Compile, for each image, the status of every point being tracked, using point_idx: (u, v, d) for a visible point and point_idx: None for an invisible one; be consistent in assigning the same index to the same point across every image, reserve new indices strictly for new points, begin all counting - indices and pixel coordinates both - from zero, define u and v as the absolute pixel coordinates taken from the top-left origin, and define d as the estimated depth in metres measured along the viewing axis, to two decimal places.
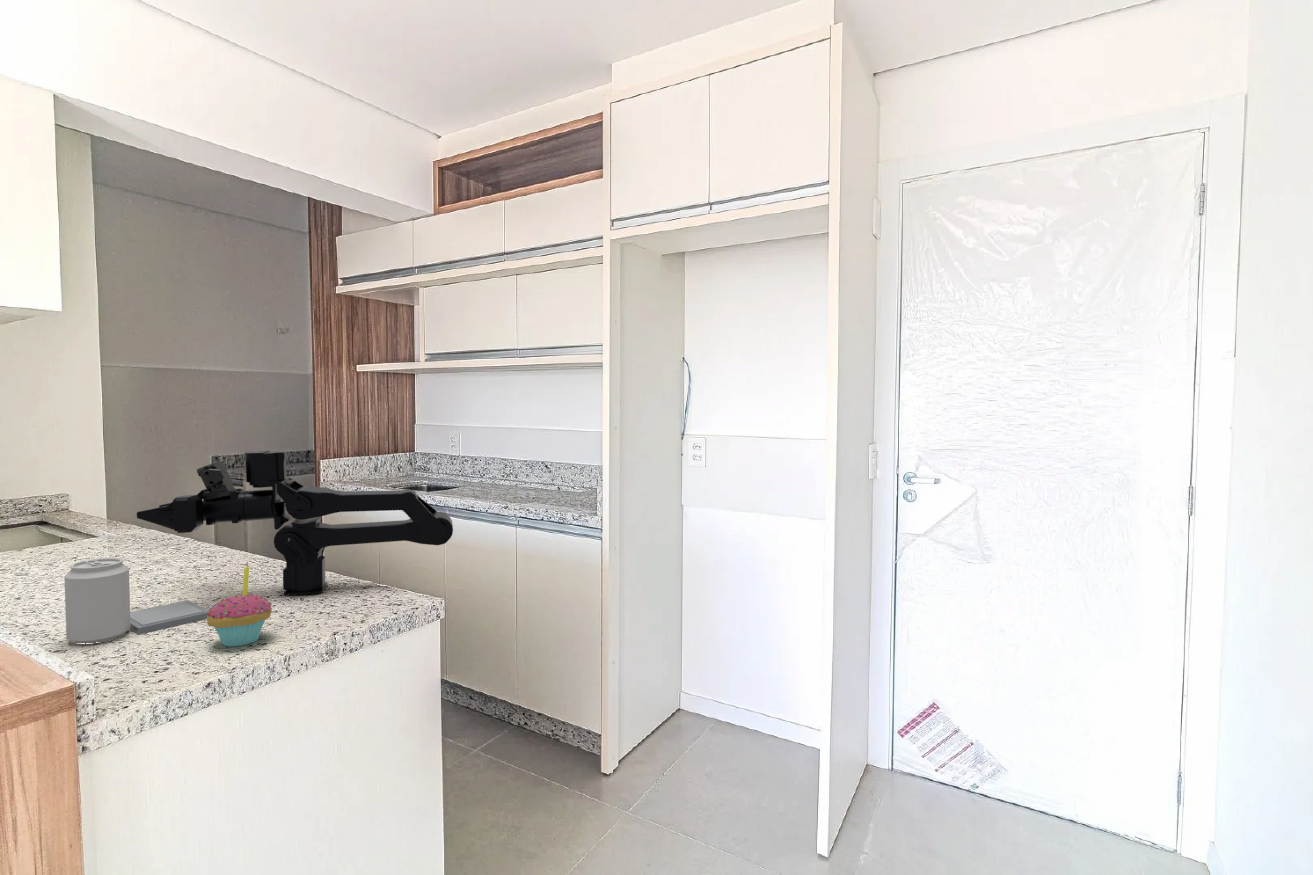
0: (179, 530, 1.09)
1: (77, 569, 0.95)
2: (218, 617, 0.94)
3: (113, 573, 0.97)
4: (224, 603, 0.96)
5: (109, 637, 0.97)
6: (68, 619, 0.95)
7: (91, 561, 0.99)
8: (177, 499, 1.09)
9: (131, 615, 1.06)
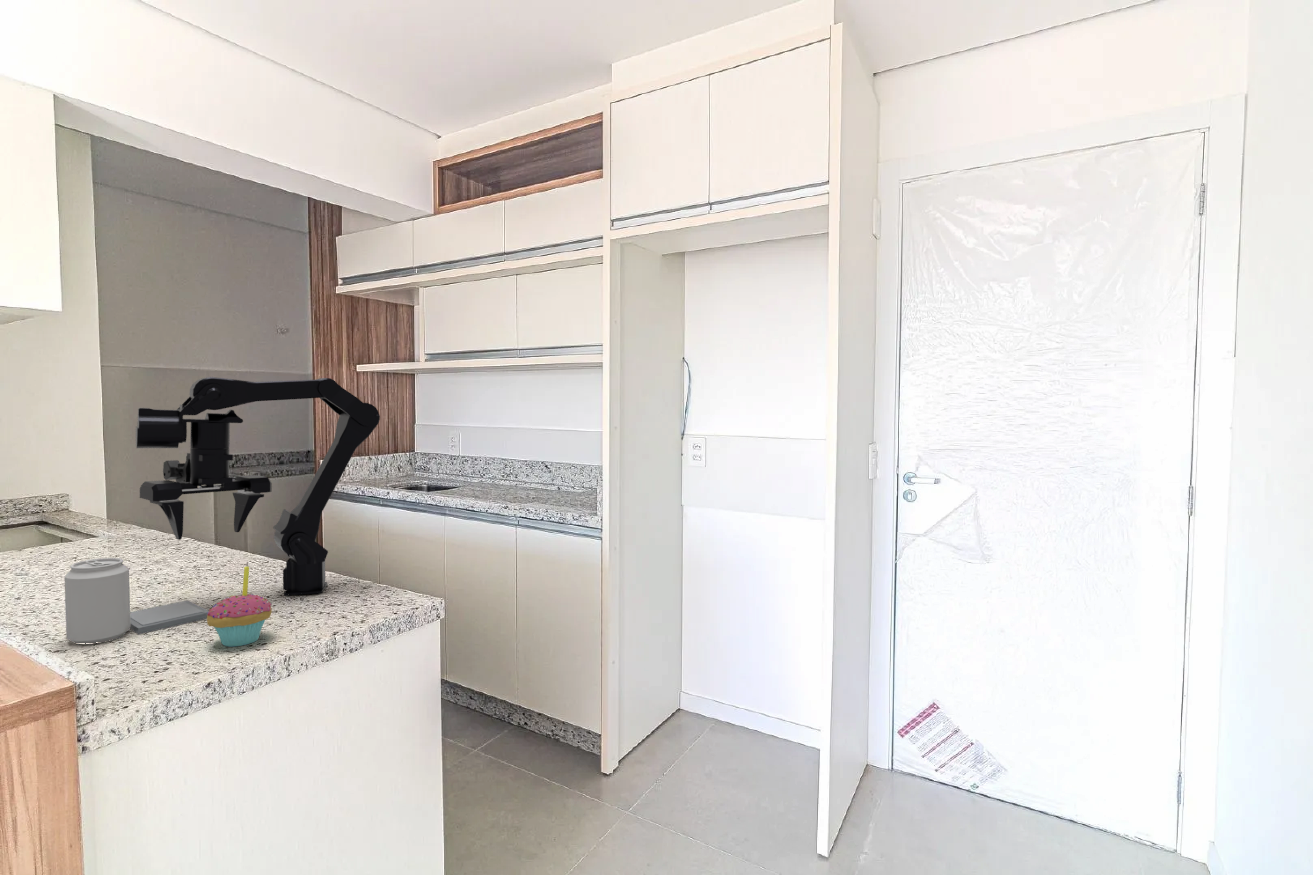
0: (153, 498, 1.04)
1: (77, 569, 0.95)
2: (218, 617, 0.94)
3: (113, 573, 0.97)
4: (224, 603, 0.96)
5: (109, 637, 0.97)
6: (68, 619, 0.95)
7: (91, 561, 0.99)
8: None
9: (131, 615, 1.06)
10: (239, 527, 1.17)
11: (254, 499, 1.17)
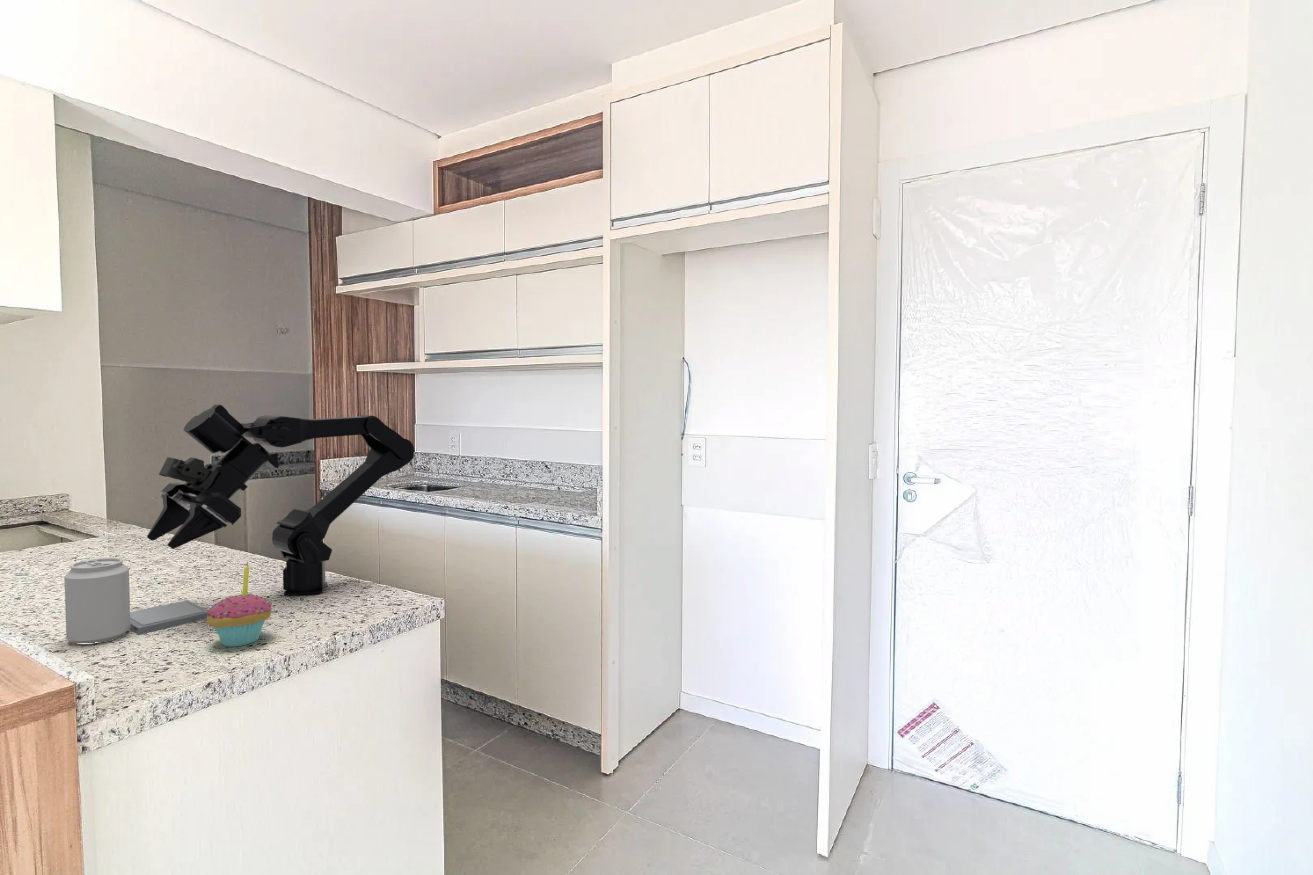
0: (233, 521, 1.05)
1: (77, 569, 0.95)
2: (218, 617, 0.94)
3: (113, 573, 0.97)
4: (224, 603, 0.96)
5: (109, 637, 0.97)
6: (68, 619, 0.95)
7: (91, 561, 0.99)
8: (205, 502, 1.02)
9: (131, 615, 1.06)
10: None
11: None
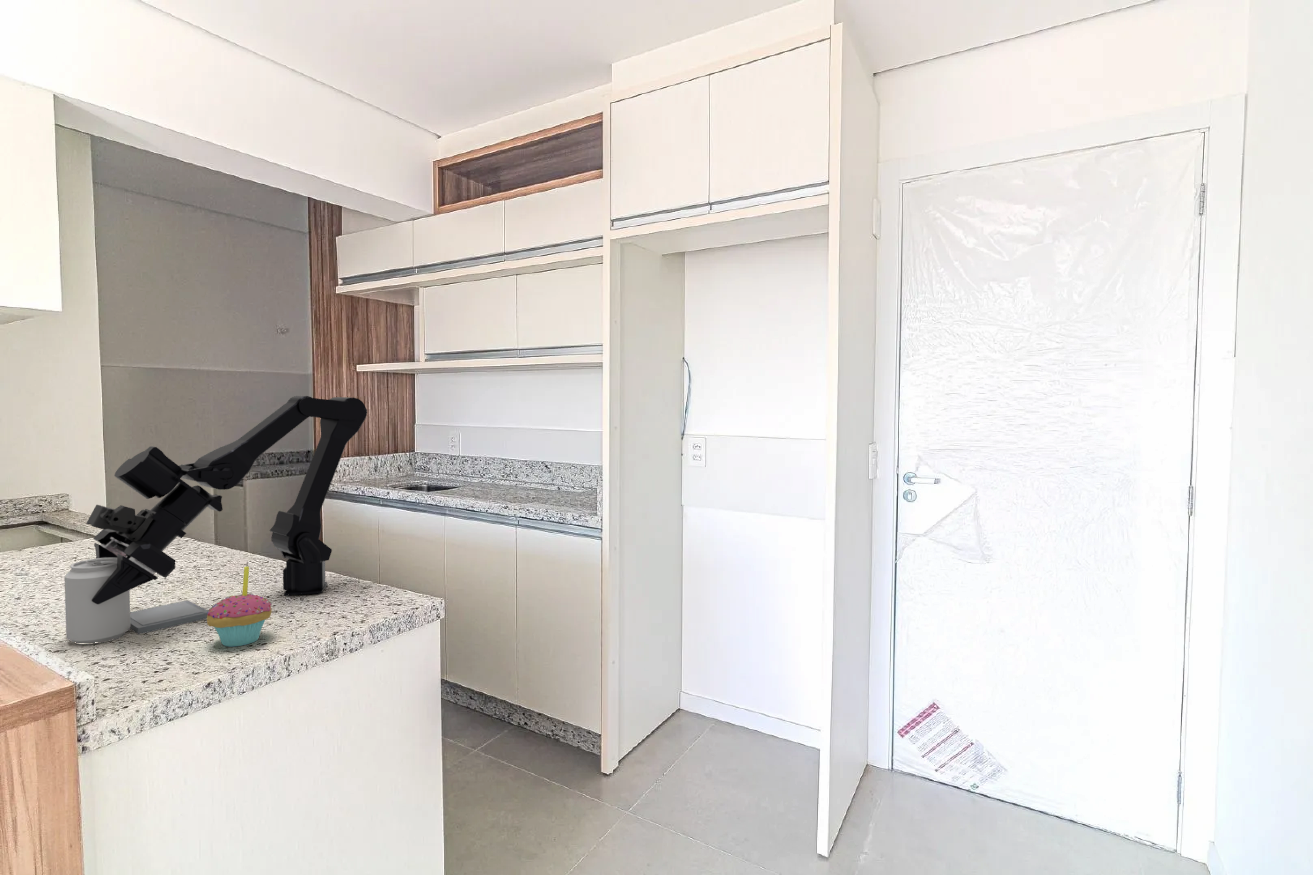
0: (165, 574, 0.98)
1: (77, 568, 0.95)
2: (218, 617, 0.94)
3: None
4: (224, 603, 0.96)
5: (109, 637, 0.97)
6: (68, 619, 0.95)
7: (91, 561, 0.99)
8: (133, 555, 0.95)
9: (131, 615, 1.06)
10: None
11: None
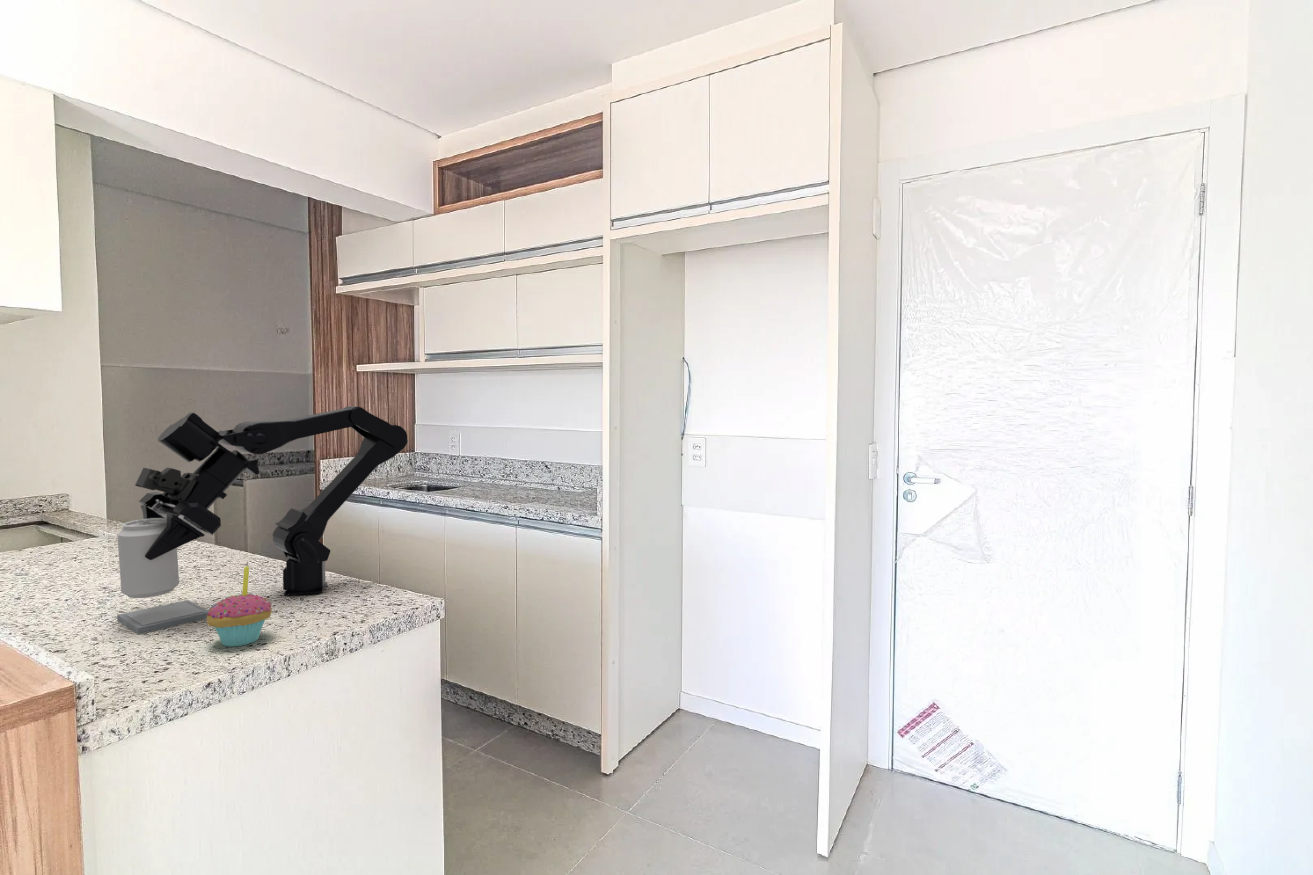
0: (212, 531, 1.04)
1: (129, 527, 1.01)
2: (218, 617, 0.94)
3: None
4: (224, 603, 0.96)
5: (162, 591, 1.03)
6: (123, 574, 1.01)
7: (140, 521, 1.05)
8: (182, 513, 1.01)
9: (131, 615, 1.06)
10: None
11: None
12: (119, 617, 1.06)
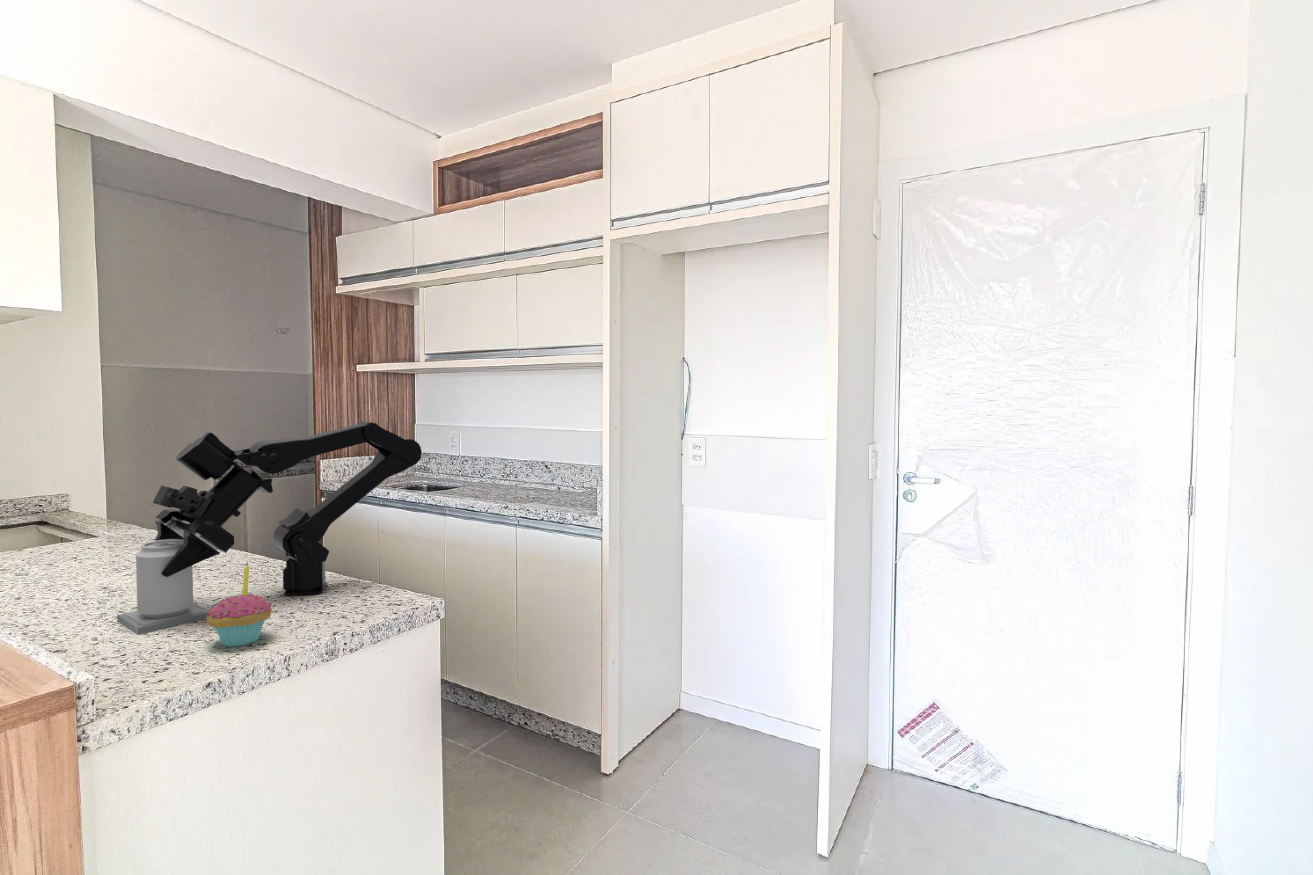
0: (226, 549, 1.06)
1: (148, 548, 1.04)
2: (218, 617, 0.94)
3: None
4: (224, 603, 0.96)
5: (176, 611, 1.06)
6: (140, 594, 1.04)
7: (158, 542, 1.07)
8: (198, 531, 1.03)
9: (131, 615, 1.06)
10: None
11: None
12: (119, 617, 1.06)
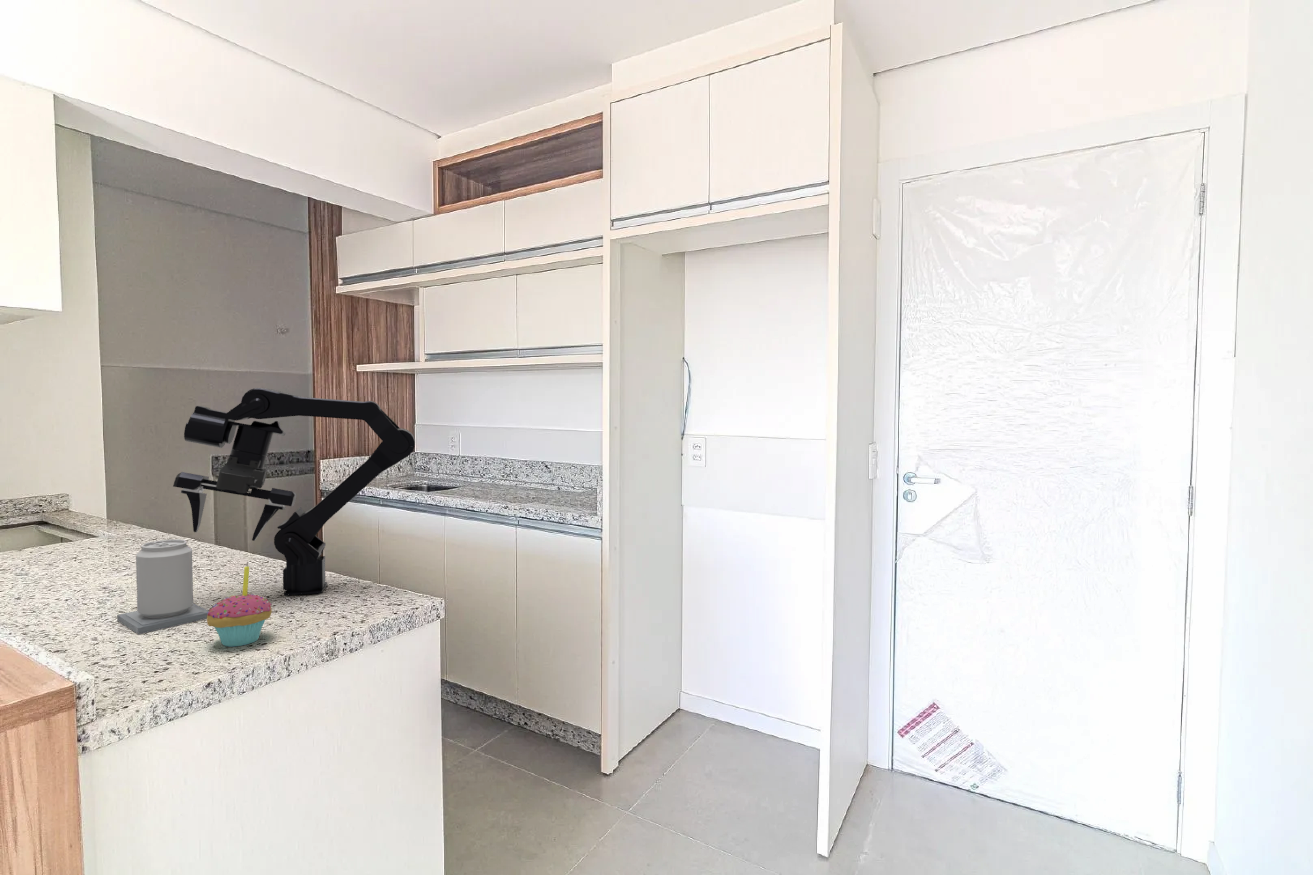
0: (293, 504, 1.24)
1: (148, 548, 1.04)
2: (218, 617, 0.94)
3: (180, 552, 1.06)
4: (224, 603, 0.96)
5: (176, 611, 1.06)
6: (140, 594, 1.04)
7: (158, 542, 1.07)
8: (290, 504, 1.19)
9: (131, 615, 1.06)
10: None
11: None
12: (119, 617, 1.06)
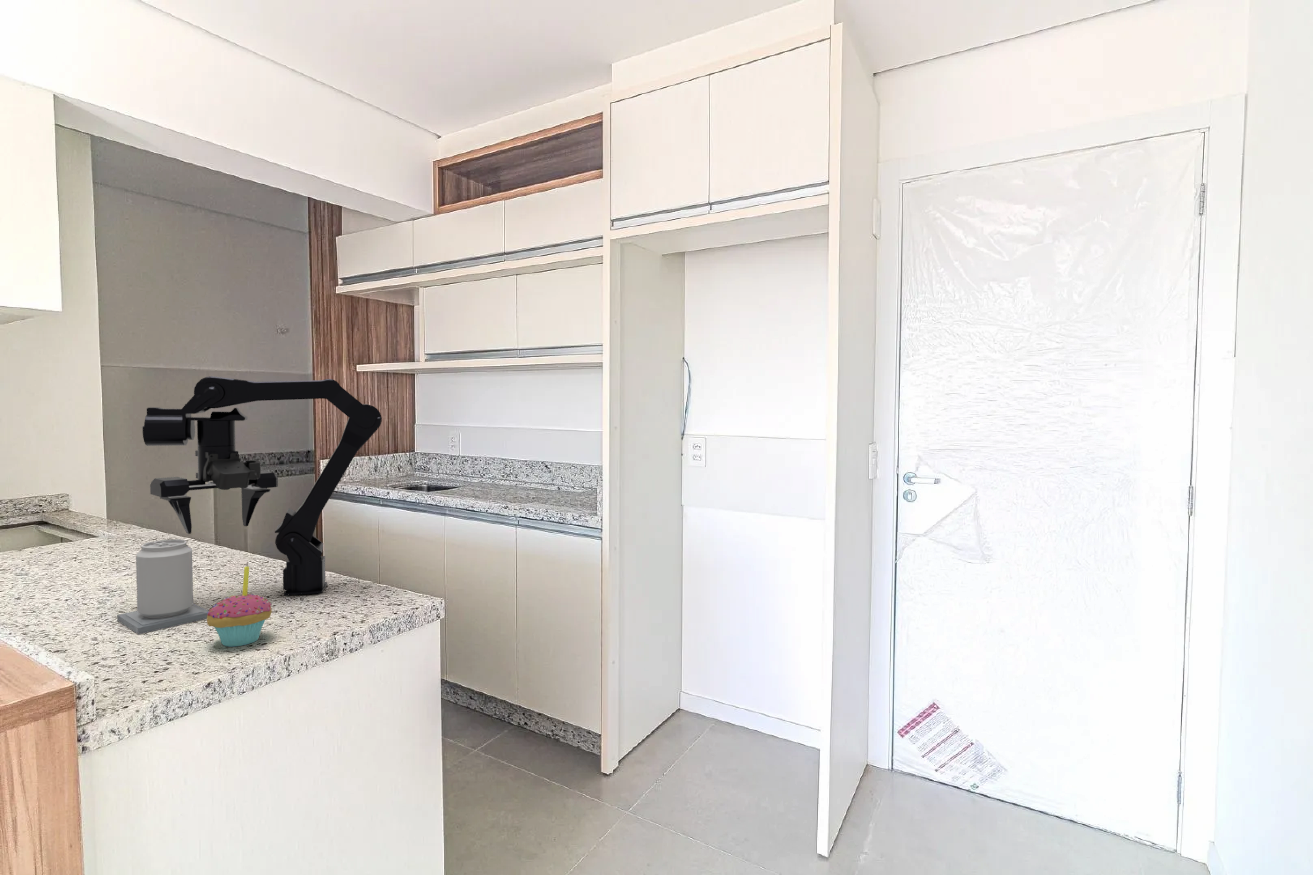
0: None
1: (148, 548, 1.04)
2: (218, 617, 0.94)
3: (180, 552, 1.06)
4: (224, 603, 0.96)
5: (176, 611, 1.06)
6: (140, 594, 1.04)
7: (158, 542, 1.07)
8: (277, 485, 1.23)
9: (131, 615, 1.06)
10: None
11: None
12: (119, 617, 1.06)
